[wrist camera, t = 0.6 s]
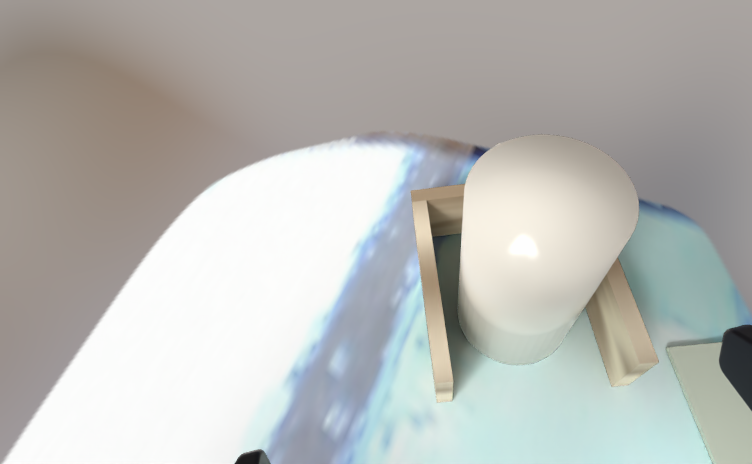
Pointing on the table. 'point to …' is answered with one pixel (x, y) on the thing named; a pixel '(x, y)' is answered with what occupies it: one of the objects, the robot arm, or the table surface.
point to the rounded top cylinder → (538, 242)
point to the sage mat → (714, 403)
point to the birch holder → (605, 308)
